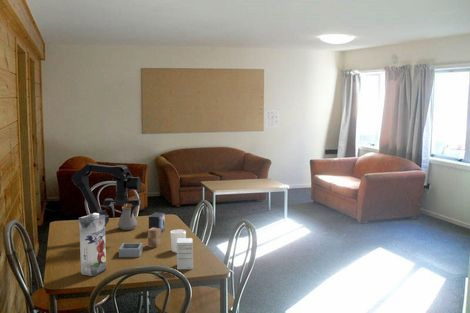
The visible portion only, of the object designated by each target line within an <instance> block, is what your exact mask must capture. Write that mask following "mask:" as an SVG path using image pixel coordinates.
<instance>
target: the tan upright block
mask: <svg viewBox="0 0 470 313" xmlns="http://www.w3.org/2000/svg"><path fill="white" fill-rule="evenodd" d="M160 246H162V233H161V228H151V229H149V228H148V229H147V247H148V248H153V249H155V248H156V249H157V248H158V247H160Z"/></svg>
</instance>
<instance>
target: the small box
mask: <svg viewBox="0 0 470 313" xmlns="http://www.w3.org/2000/svg"><path fill="white" fill-rule="evenodd" d="M165 214H166V213H165V212H157V211H156V212H154V213H152V214H150V215H149V216H148V230H149V229H151V228H161V234H162V233H163V232H165V227H166V226H165V225H166V224H165V223H166V221H165V220H166V218H165V217H166V215H165Z"/></svg>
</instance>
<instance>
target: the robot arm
mask: <svg viewBox="0 0 470 313" xmlns="http://www.w3.org/2000/svg"><path fill="white" fill-rule="evenodd" d="M92 172H93V173H94V172H95V173H102V174H108V175H111V176H113V178H112V179H111V181H112V182H115V187H116V188H115V191H116V192H115V197H114V199H113V198H105V199H104V200H103V202H102V203H103V206H106V207H108V208H109V209H108V210H109V211H110V213H111V217H112V218H113V219H115V211H114V209H115V206H117V207H119V206H121V207H124V205H126V204H127V205H130V206H131V215H130V217H131V218H132V215H133V214H134V211H135V209H136V208H137V207H138V206H140V204H141V199H140V198H132V199H129V195H128V191H129V190H131V191H140V190H141V188H142V185H143V184H142V181H141V179H140V176H136V177H135V176H133V175H132V173H131V172H130V170H129V168H128V166H127V165H125V164H120V165H119V164H117V165H108V164H107V165H106V164H96V163H93V162H91V163H87V164H85V165H84V166H83V167H82V168H80V169H79V170H78V171H77V172H74V173H72V175H71V181H72V182H73V184H74V185H75V187H77V188H78V189H79V190H80V191H81V193H82V195H83V197H84V199H85V201H86V204H87V205H88V208H89V209H90V211H91V214H93V213H99V214H100V215H105V228H106V227H107V224H108V223H109V221H110V219H109V217H110V215H109V214H108V211H107V209H104V210H103V209H101V207H100V205H99V203H98V201H97V199H96V196H95V195H94V193H93V191H92V189H91V187H90V184H89V183H90V182H89V181H90V180H89V176H90V175H91V174H92ZM106 237H107V231H106V229H105V239H106Z"/></svg>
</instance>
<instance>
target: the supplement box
mask: <svg viewBox="0 0 470 313" xmlns="http://www.w3.org/2000/svg"><path fill="white" fill-rule="evenodd" d="M193 243H194V242H193V238H192V237H186V238H177V252H176V269H177V270H193V269H194V248H193V247H194V244H193Z"/></svg>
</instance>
